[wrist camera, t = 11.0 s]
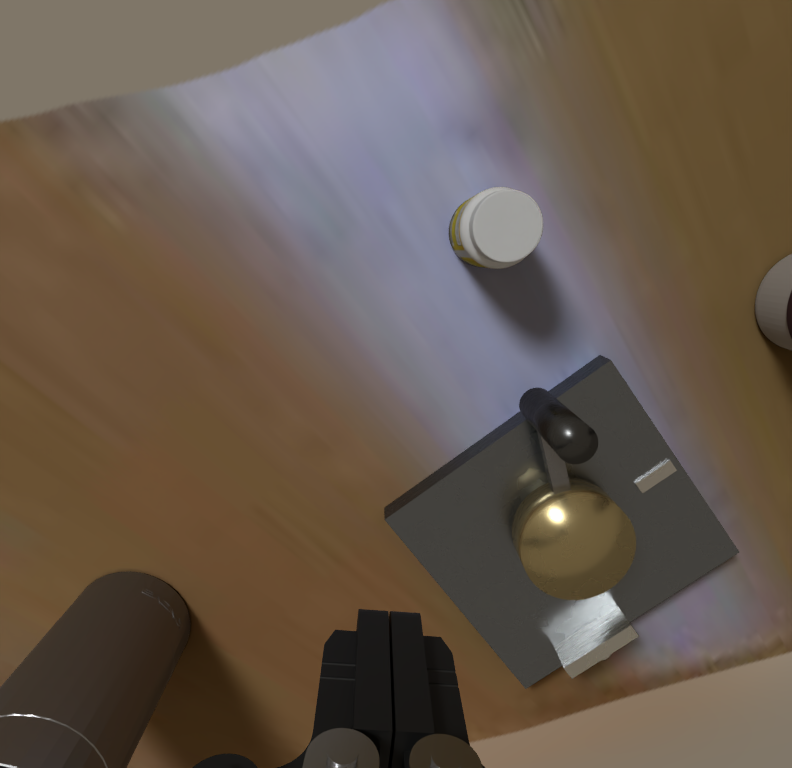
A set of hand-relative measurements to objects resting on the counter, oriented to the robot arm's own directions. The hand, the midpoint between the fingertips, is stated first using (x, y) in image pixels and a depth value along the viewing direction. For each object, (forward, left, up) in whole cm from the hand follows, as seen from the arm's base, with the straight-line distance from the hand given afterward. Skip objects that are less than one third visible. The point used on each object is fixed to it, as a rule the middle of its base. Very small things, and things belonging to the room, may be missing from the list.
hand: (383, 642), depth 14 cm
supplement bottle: (+12, +4, -29) cm, 32 cm away
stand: (+4, -18, -29) cm, 34 cm away
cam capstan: (+6, -14, -26) cm, 30 cm away
